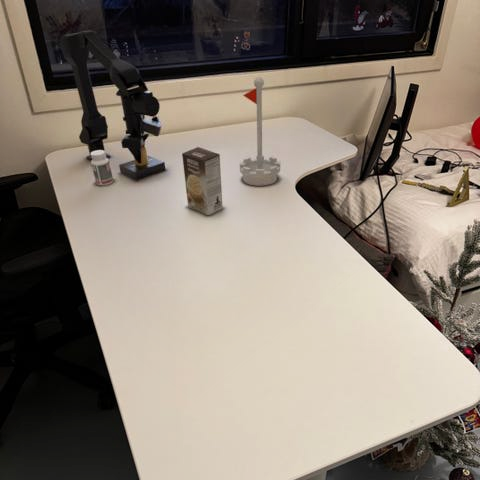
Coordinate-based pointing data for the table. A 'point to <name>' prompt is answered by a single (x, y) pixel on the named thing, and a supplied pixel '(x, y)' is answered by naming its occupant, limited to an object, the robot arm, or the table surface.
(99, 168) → the pill bottle
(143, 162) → the handle
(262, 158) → the flag stand
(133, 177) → the black flat block
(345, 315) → the table surface
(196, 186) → the coffee box
